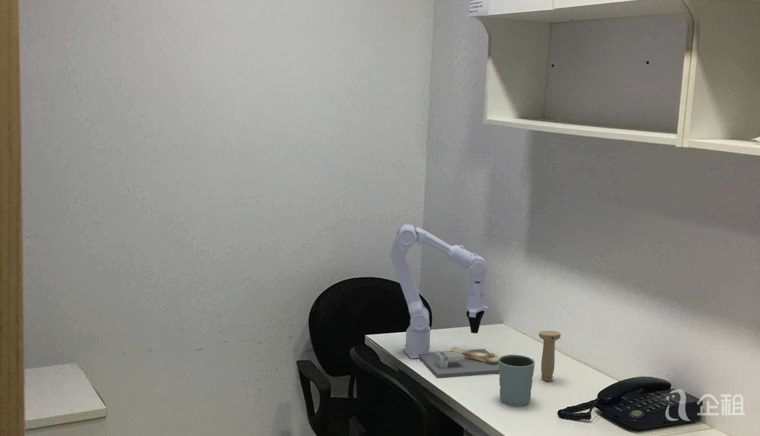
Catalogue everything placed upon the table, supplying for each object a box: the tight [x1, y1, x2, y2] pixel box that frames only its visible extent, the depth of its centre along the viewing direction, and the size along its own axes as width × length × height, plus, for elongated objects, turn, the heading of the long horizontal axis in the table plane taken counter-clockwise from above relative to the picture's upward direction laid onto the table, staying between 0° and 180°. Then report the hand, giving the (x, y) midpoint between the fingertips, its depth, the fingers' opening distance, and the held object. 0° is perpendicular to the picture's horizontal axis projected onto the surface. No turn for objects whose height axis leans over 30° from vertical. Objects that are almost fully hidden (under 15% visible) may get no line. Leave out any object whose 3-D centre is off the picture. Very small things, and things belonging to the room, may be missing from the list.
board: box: [418, 348, 499, 379], centre depth 243 cm, size 20×24×1 cm
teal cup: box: [498, 354, 536, 407], centre depth 214 cm, size 10×10×12 cm
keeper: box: [435, 351, 465, 369], centre depth 239 cm, size 8×5×4 cm, turn 105°
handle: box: [538, 330, 562, 382], centre depth 230 cm, size 5×6×15 cm
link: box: [449, 347, 500, 364], centre depth 245 cm, size 16×5×2 cm, turn 60°
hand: (474, 332), depth 250 cm, fingers closed
